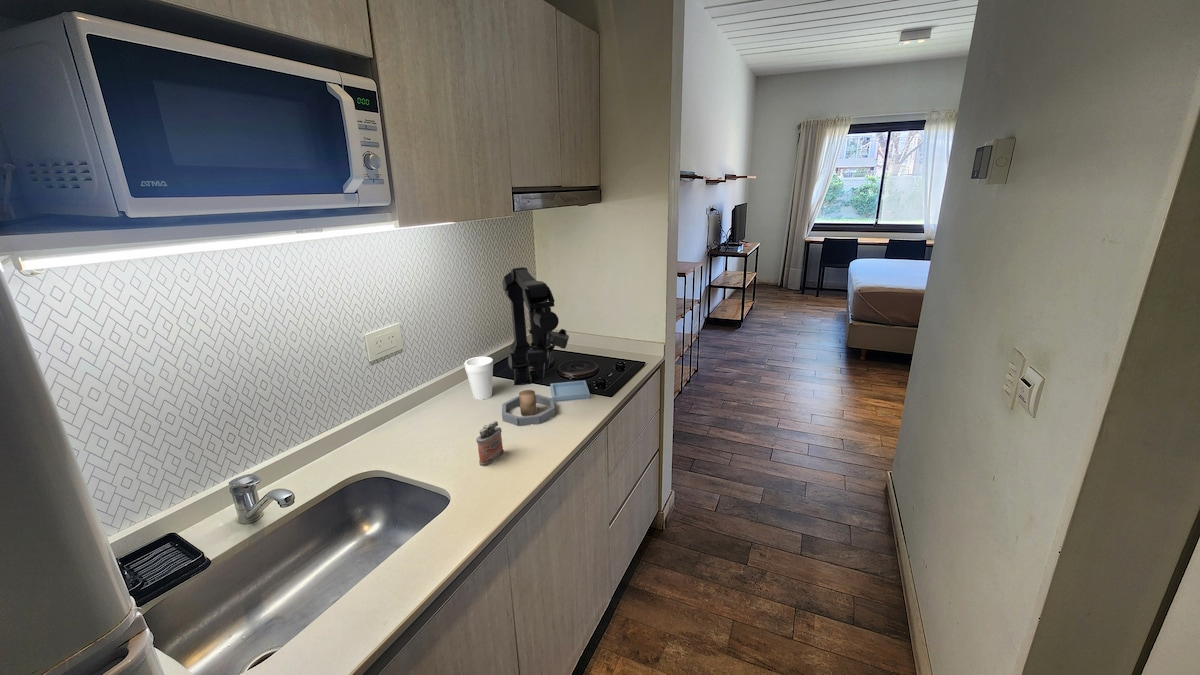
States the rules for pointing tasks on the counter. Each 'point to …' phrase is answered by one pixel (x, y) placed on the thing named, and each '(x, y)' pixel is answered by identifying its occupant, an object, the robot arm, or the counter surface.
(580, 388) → the tray
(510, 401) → the holder ring
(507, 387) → the counter surface
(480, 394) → the foam cup
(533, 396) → the walnut cylinder
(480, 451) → the lighter
